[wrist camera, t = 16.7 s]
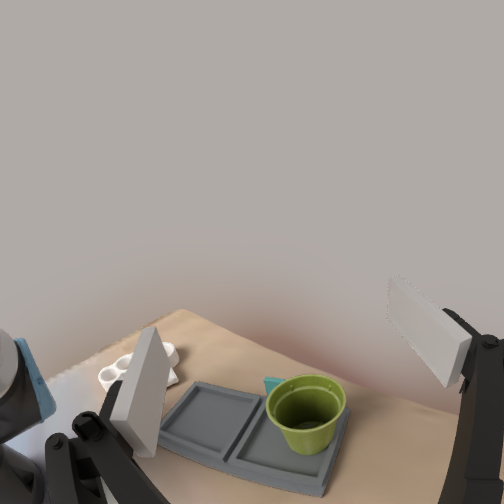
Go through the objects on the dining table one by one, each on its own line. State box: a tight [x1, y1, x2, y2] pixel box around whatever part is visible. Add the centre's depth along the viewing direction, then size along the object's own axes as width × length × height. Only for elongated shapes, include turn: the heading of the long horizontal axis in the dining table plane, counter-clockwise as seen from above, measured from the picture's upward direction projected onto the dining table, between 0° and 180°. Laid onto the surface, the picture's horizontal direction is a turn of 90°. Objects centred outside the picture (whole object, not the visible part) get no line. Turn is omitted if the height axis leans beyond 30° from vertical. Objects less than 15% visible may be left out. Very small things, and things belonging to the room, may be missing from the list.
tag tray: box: [157, 377, 350, 497], centre depth 36 cm, size 27×15×6 cm, turn 65°
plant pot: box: [266, 374, 346, 455], centre depth 32 cm, size 9×9×9 cm
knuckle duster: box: [98, 342, 179, 392], centre depth 52 cm, size 3×18×15 cm
